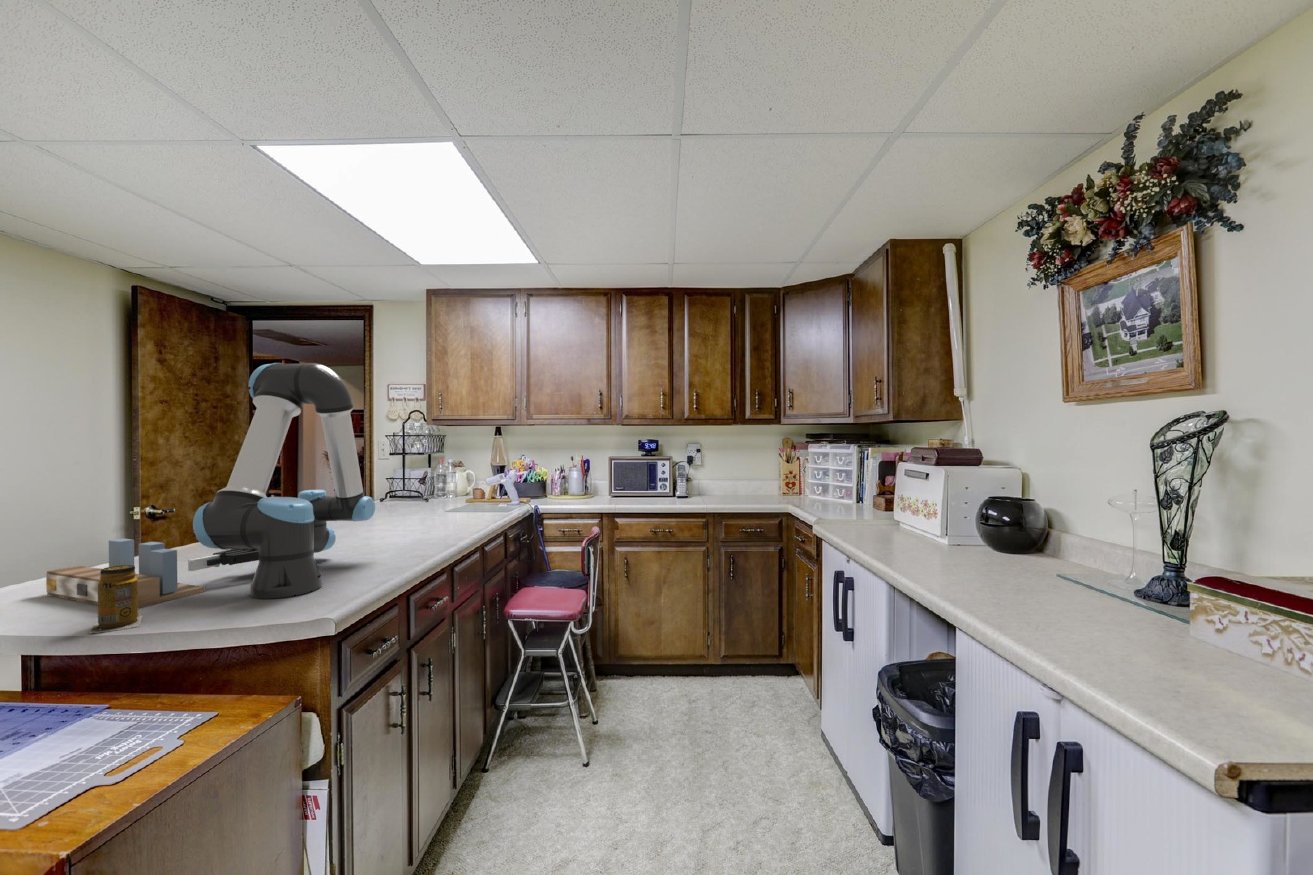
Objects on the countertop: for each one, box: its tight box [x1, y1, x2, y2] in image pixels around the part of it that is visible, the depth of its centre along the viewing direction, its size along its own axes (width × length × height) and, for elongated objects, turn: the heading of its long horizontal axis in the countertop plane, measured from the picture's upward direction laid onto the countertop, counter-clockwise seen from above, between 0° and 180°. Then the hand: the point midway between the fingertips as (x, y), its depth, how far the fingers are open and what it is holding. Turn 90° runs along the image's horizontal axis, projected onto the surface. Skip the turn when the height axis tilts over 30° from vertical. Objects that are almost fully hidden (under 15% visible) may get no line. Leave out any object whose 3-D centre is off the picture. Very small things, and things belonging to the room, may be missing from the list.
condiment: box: [88, 565, 143, 635], centre depth 115 cm, size 7×8×12 cm
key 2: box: [149, 548, 178, 594], centre depth 134 cm, size 5×3×10 cm, turn 70°
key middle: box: [138, 541, 166, 576], centre depth 142 cm, size 5×3×10 cm, turn 70°
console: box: [45, 565, 206, 609], centre depth 137 cm, size 33×16×6 cm, turn 70°
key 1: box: [108, 538, 135, 567], centre depth 147 cm, size 5×3×10 cm, turn 70°
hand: (190, 565), depth 139 cm, fingers closed
